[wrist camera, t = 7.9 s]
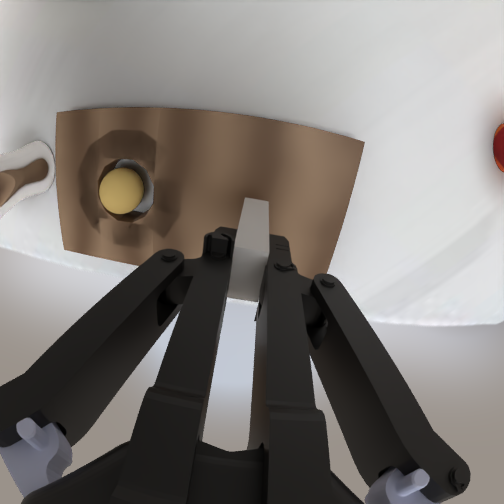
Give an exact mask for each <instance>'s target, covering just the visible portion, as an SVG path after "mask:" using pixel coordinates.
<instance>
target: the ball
mask: <svg viewBox="0 0 504 504" xmlns="http://www.w3.org/2000/svg"><path fill="white" fill-rule="evenodd" d="M143 193H144V186H143V182H142V179H141V178H140V176H139V175H138V174H137V173H136V172H135V171H133V170H132V169H129V168H116V169H114V170H112V171H110V172H109V173H108V174H107V175H106V176H105V177H104V178H103V180H102V182H101V185H100V189H99V195H100V199H101V202H102V204H103V205H104V207H105V208H106V209H107V210H109V211H110V212H113V213H116V214H125V213H128V212H130V211H132V210H134V209H135V208H136V207H137V206H138V205H139V203H140V202H141V200H142V197H143Z"/></svg>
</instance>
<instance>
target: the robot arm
mask: <svg viewBox="0 0 504 504" xmlns="http://www.w3.org/2000/svg"><path fill="white" fill-rule="evenodd" d="M227 297H229V298H235V299H241V300H247V301H254V302H258V300H259V303H258V307H257V312H256V316H255V320H254V321H256V338H255V354H254V371H253V388H252V402H251V418H250V433H249V442H248V447H247V450H244V451H235V452H229V451H225V450H223V449H220V448H217V447H215V446H212V445H210V444H207V443H204V442H202V437H203V431H204V424H205V418H206V413H207V407H208V400H209V395H210V389H211V383H212V377H213V372H214V366H215V361H216V355H217V349H218V343H219V338H220V333H221V328H222V322H223V316H224V311H225V306H226V300H227ZM179 311H180V313H179ZM178 313H179V316H178V318H177V321H176V324H175V327H174V329H173V332H172V335H171V338H170V341H169V344H168V346H167V349H166V352H165V355H164V358H163V361H162V364H161V367H160V370H159V373H158V376H157V379H156V382H155V384H154V386H153V387H149V388H148V389H147V391H146V393H145V396H144V398H143V401H142V405H141V407H140V411H139V414H138V417H137V420H136V423H135V426H134V429H133V433H132V436H131V439H130V441H128V442H125V443H123V444H121V445H119V446H117V447H115V448H114V449H112V450H111V451H109V452H107V453H106V454H104V455H102V456H101V457H99V458H97V459H95V460H94V461H92V462H90V463H88V464H86V465H85V466H83V467H81V468H79V469H77V470H76V471H74V472H72V473H70V474H68V475H66V476H64V477H62V474H63V471H64V470H65V469H66V468H67V467H68V466H70V465H71V463H72V449H71V447H72V446H73V445H75V444H76V443H77V442H78V441H79V440H80V439H81V438H82V437H83V436H84V435H85V434H86V433H87V432H88V431H89V429H90V428H91V427H92V426H93V424H94V423H95V422H96V420H97V419H98V418H99V416H100V415H101V414H102V412H103V411H104V409H105V408H106V407H107V405H108V404H109V403H110V401H111V400H112V399H113V397H114V396H115V395H116V393H117V392H118V391H119V389H120V388H121V387H122V385H123V384H124V383H125V381H126V380H127V379H128V377H129V376H130V375H131V374H132V372H133V371H134V370H135V368H136V367H137V365H138V364H139V363H140V362H141V360H142V359H143V358H144V356H145V355H146V354H147V353H148V351H149V350H150V349H151V347H152V346H153V345H154V344H155V342H156V340H158V338H159V337H160V336H161V334H162V333H163V332H164V331H165V329H166V328H167V327H168V325H169V324H170V323H171V322H172V320H173V319H174V318H175V316H176V315H177V314H178ZM310 356H311V358H312V361H313V363H314V365H315V368H316V370H317V372H318V375H319V377H320V380H321V382H322V385H323V387H324V389H325V392H326V394H327V397H328V399H329V401H330V404H331V406H332V409H333V411H334V413H335V416H336V418H337V421H338V423H339V425H340V428H341V430H342V433H343V435H344V438H345V440H346V443H347V445H348V448H349V450H350V453H351V455H352V458H353V460H354V463H355V465H356V466H357V469H358V471H359V473H360V475H361V476H362V478H363V479H364V481H365V482H366V484H367V485H368V486H369V487H370V489H369V492H368V494H367V495H366V497H365V503H366V504H440V503H442V502H443V501H446V500H448V499H450V498H453V497H455V496H457V495H459V494H461V493H463V492H464V491H465V490H466V488H467V486H468V484H469V482H470V470H469V467H468V465H467V464H466V462H465V461H464V460H463V459H462V458H461V457H460V456H459V455H458V454H457V453H456V452H454V450H453V449H451V447H450V446H449V445H447V444H446V443H445V442H444V441H443V440H442V439H441V438H440V437H439V436H438V435H437V434H436V433H435V432H434V431H433V429H432V427H431V426H430V424H429V422H428V420H427V418H426V417H425V414H424V413H423V411H422V409H421V407H420V406H419V404H418V402H417V401H416V399H415V397H414V395H413V394H412V392H411V390H410V389H409V387H408V385H407V383H406V382H405V380H404V378H403V377H402V375H401V373H400V372H399V370H398V368H397V367H396V365H395V363H394V362H393V360H392V359H391V357H390V355H389V354H388V352H387V351H386V349H385V347H384V346H383V344H382V343H381V341H380V340H379V338H378V337H377V335H376V333H375V332H374V330H373V329H372V328H371V326H370V324H369V323H368V321H367V320H366V318H365V317H364V315H363V314H362V312H361V311H360V309H359V308H358V306H357V305H356V303H355V302H354V300H353V299H352V297H351V296H350V295H349V293H348V292H347V290H346V289H345V287H344V286H343V284H342V283H341V282H340V281H339V280H338V279H337V278H336V277H334V276H332V275H330V274H324V273H320V274H317V275H315V276H314V278H313V280H312V279H309V278H307V277H304V276H302V275H300V274H299V273H298V270H297V267H296V265H295V264H293V263H292V259H291V252H290V246H289V241H288V240H287V239H286V238H285V237H284V236H279V235H273V234H269V202H268V201H263V200H258V199H252V198H246V197H245V200H244V204H243V208H242V213H241V217H240V221H239V226H238V229H234V228H228V227H222V226H220V227H219V228H217V229H215V231H214V232H210V233H207V234H206V235H205V236H204V243H203V253H202V256H201V257H199V258H195V259H184V254H183V253H182V252H180V251H178V250H175V249H163V250H159V251H158V252H156V253H155V254H153V255H152V256H151V257H150V258H149V259H147V260H146V261H145V262H144V263H143V264H141V265H140V266H139V267H138V268H137V269H135V270H134V271H133V272H132V273H131V274H129V275H128V276H127V277H126V278H125V279H124V280H122V281H121V282H120V283H119V284H118V285H117V286H116V287H114V288H113V289H112V290H111V291H110V292H109V293H107V294H106V295H105V296H104V297H103V298H102V299H101V300H100V301H99V302H97V303H96V304H95V305H94V306H93V307H92V308H91V309H90V310H88V311H87V312H86V313H85V314H84V315H83V316H82V317H81V318H80V319H79V320H78V321H77V322H76V323H74V325H72V326H71V327H70V328H69V329H68V330H67V331H66V332H65V333H64V334H63V335H62V336H61V337H60V338H59V339H58V340H57V341H56V342H55V343H54V344H53V345H52V346H51V347H50V348H49V349H48V350H47V351H46V352H45V353H44V354H43V355H42V356H41V357H40V358H39V359H38V360H37V361H36V362H35V363H34V364H33V365H32V366H31V367H30V368H29V369H28V370H27V371H26V372H25V373H24V374H22V375H20V376H19V377H17V378H15V379H13V380H12V381H9V382H8V383H6V384H4V385H2V386H0V454H1V456H2V458H3V460H4V462H5V464H6V466H7V468H8V470H9V472H10V474H11V476H12V478H13V480H14V481H15V483H16V485H17V487H18V488H19V490H20V492H21V493H22V495H23V496H24V499H23V501H22V503H21V504H364V503H363V502H362V501H361V500H360V499H359V498H358V497H357V496H356V495H355V494H354V493H352V491H351V490H350V489H349V488H348V487H347V486H345V484H344V483H343V482H342V481H341V480H340V479H339V478H338V477H337V476H336V475H335V474H334V473H333V472H332V471H331V470H330V459H329V448H328V438H327V429H326V421H325V416H324V413H323V412H322V411H321V410H318V409H317V408H316V405H315V398H314V389H313V380H312V371H311V362H310Z"/></svg>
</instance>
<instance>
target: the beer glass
mask: <svg viewBox="0 0 504 504" xmlns="http://www.w3.org/2000/svg"><path fill="white" fill-rule="evenodd" d="M54 175H55V163H54V158H53V155H52V152H51V150H50V148H49V147H48V146H47V145H46V144H45V143H44V142H42V141H33V142H31V143H29V144H27V145H25V146H24V147H22V148H20V149H18V150H16V151H13V152H9V153H1V154H0V219H1V218H2V217H3V216H4V215H5V214H6V213H7V212H8V211H9V210H11V209H12V208H13V207H14V206H15V205H16V204H17V203H19V202H20V201H22V200H23V199H25V198H27V197H30V196H33V195H38V194H41V193H44V192H46V191H47V190H48V189H49V188H50V186H51V185H52V182H53V179H54Z"/></svg>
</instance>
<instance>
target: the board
mask: <svg viewBox="0 0 504 504" xmlns="http://www.w3.org/2000/svg"><path fill="white" fill-rule="evenodd" d="M364 143H365V142H363V141H360V140H356V139H353V138H349V137H346V136H342V135H339V134H335V133H331V132H327V131H323V130H319V129H315V128H311V127H307V126H302V125H297V124H293V123H288V122H283V121H277V120H272V119H266V118H260V117H254V116H248V115H241V114H233V113H225V112H216V111H206V110H194V109H179V108H153V107H124V108H99V109H85V110H74V111H64V112H57V118H56V144H55V158H56V185H57V198H58V209H59V218H60V226H61V233H62V239H63V245H64V250H68V251H72V252H76V253H81V254H85V255H90V256H94V257H99V258H104V259H108V260H113V261H118V262H122V263H127V264H132V265H137V266H140V265H141V264H143V263H144V262H145V261H146V260H147V259H149V258H150V257H151V256H152V255H153V254H155V253H156V252H158V251H159V250H163V249H175V250H178V251H180V252H182V253H183V254H184V259H195V258H199V257H201V256H202V253H203V243H204V236H205V235H206V234H207V233H210V232H214V231H215V229H217V228H219V227H220V226H222V227H228V228H234V229H238V226H239V221H240V217H241V213H242V208H243V204H244V200H245V197H246V198H252V199H258V200H263V201H268V202H269V234H273V235H279V236H284V237H285V238H286V239H287V240H288V241H289V246H290V252H291V259H292V263H293V264H295V265H296V267H297V270H298V273H299V274H300V275H302V276H304V277H307V278H309V279H312V280H313V278H314V276H315V275H317V274H320V273H324V274H327V271H328V268H329V265H330V262H331V259H332V256H333V253H334V250H335V247H336V244H337V241H338V238H339V235H340V231H341V228H342V225H343V222H344V218H345V215H346V212H347V208H348V205H349V201H350V198H351V194H352V190H353V187H354V183H355V179H356V176H357V172H358V168H359V164H360V160H361V156H362V152H363V147H364ZM121 159H130V160H134V161H135V162H137V163H138V164H139V165H141V166H142V167H143V168H145V169H146V170H147V172H148V174H149V177H150V179H151V181H152V183H153V185H154V198H153V205H152V206H151V208H150V210H148V211H146V212H144V213H142V212H135V211H130V212H128V213H125V214H116V213H113V212H110V211H109V210H107V209H106V208H105V207H104V205H103V204H102V202H101V199H100V195H99V189H100V185H101V182H102V180H103V178H104V177H105V176H106V175H107V174H108V173H109V172H110V171H112V170H114V168H115V166H116V165H117V163H118V161H119V160H121Z"/></svg>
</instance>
